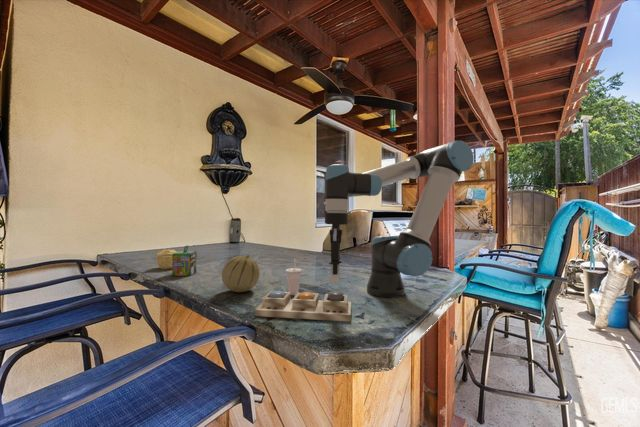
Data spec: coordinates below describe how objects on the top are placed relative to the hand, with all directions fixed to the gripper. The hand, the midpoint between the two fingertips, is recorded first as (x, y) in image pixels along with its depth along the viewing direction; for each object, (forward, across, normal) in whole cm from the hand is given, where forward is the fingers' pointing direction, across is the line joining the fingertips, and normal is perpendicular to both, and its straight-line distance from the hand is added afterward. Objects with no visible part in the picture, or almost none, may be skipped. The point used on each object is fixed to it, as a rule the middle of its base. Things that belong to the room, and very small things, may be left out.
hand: (335, 283), depth 89 cm
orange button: (+7, 0, -10) cm, 12 cm away
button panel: (+9, +1, -10) cm, 14 cm away
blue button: (+7, 0, -20) cm, 21 cm away
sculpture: (+10, -53, -99) cm, 112 cm away
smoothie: (+10, -17, -18) cm, 26 cm away
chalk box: (+10, -41, -81) cm, 91 cm away
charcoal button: (+6, 0, 0) cm, 6 cm away
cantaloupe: (+10, -17, -40) cm, 44 cm away
